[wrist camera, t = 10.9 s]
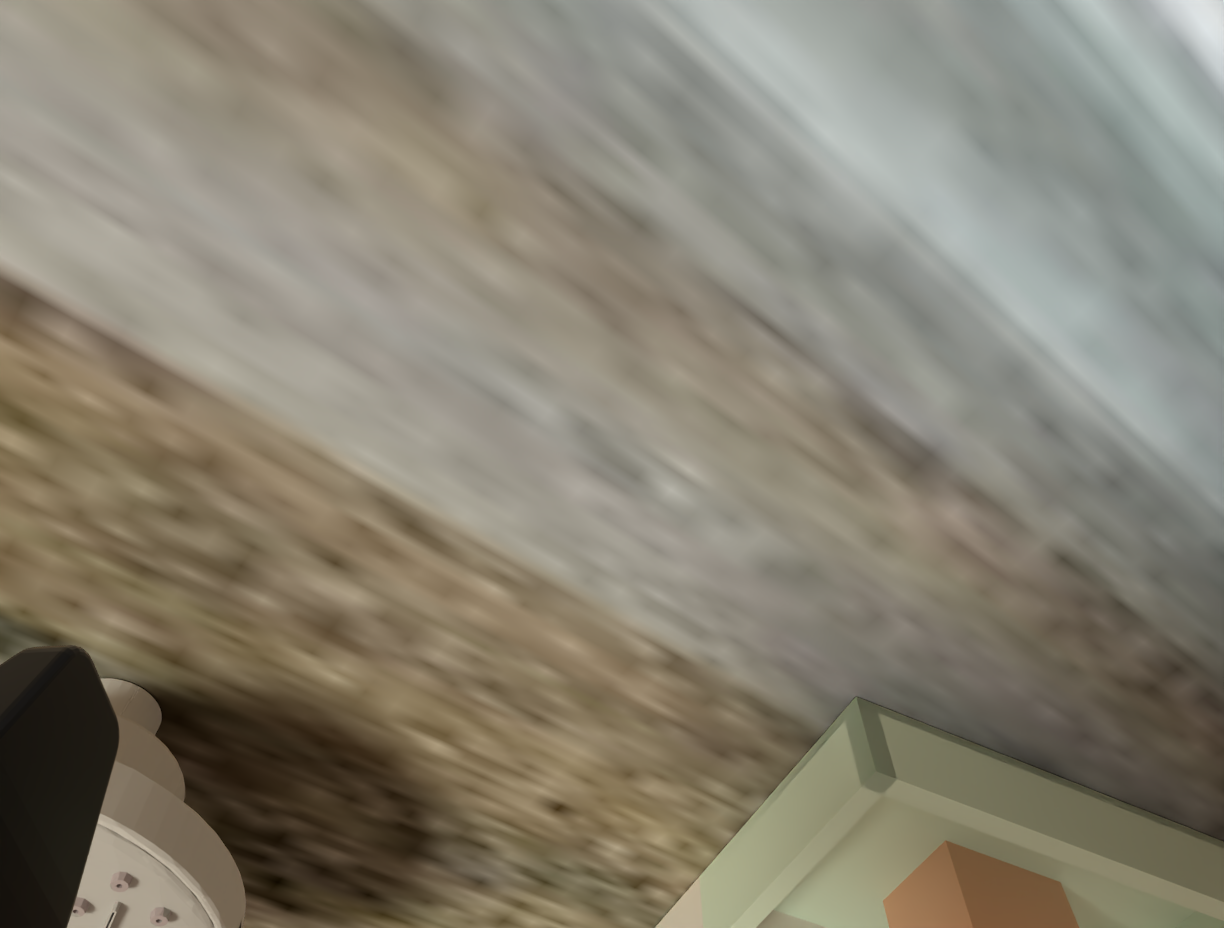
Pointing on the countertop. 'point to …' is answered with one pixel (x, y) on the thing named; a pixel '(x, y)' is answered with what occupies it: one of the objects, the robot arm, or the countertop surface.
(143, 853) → the showerhead
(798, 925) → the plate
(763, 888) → the tray
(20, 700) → the robot arm
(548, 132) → the countertop surface
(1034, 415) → the countertop surface
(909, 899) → the peach rectangular box
